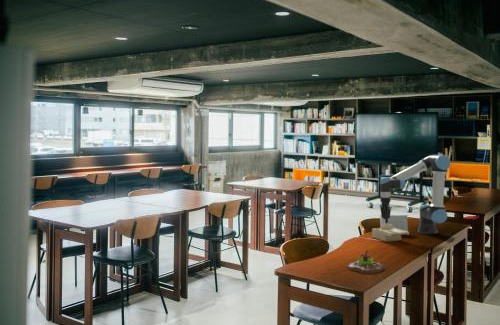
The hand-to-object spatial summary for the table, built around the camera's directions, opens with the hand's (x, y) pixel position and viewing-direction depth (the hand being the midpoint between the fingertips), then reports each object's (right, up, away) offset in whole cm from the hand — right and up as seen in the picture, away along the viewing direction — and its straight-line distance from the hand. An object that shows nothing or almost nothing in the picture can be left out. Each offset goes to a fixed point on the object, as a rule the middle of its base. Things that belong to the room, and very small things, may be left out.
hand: (385, 226), depth 357 cm
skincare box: (+12, -9, +17) cm, 22 cm away
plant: (-36, -14, -81) cm, 90 cm away
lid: (+3, -4, -9) cm, 10 cm away
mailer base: (0, -9, 0) cm, 9 cm away
